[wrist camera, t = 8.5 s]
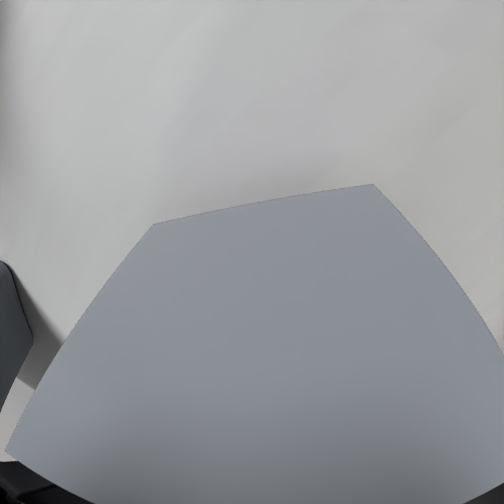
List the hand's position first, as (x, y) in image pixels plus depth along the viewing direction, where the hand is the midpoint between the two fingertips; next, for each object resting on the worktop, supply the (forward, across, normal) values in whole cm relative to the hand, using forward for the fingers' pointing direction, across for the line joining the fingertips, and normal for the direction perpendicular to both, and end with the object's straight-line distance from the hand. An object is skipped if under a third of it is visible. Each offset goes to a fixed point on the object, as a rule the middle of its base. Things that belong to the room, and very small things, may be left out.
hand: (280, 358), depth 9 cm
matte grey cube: (+3, 0, 0) cm, 3 cm away
